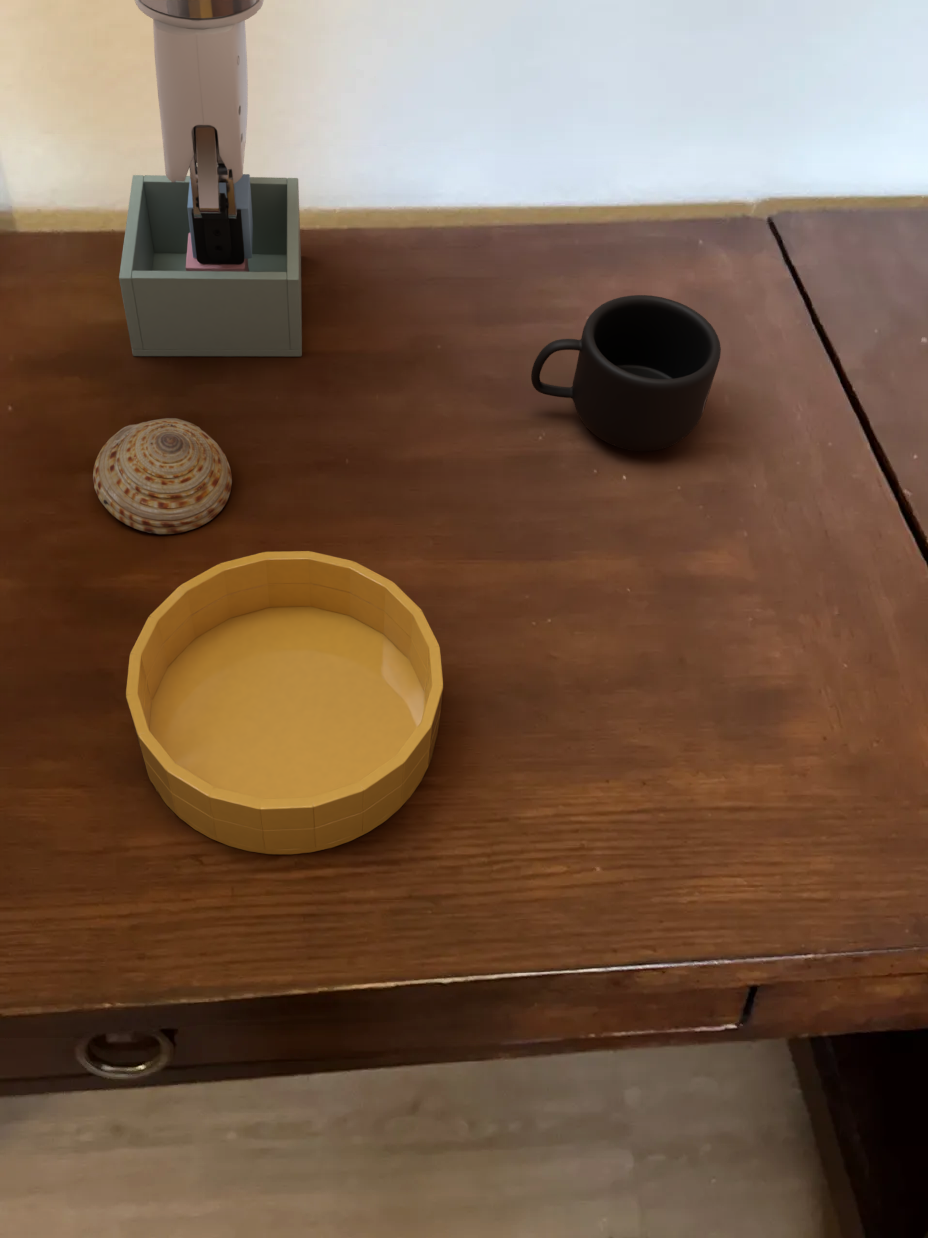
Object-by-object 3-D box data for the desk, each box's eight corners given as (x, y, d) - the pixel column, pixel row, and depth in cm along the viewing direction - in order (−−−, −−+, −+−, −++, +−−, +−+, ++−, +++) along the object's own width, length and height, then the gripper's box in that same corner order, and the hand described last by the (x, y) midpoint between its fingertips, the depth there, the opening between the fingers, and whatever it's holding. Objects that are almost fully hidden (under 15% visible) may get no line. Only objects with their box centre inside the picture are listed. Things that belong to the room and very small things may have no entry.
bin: (132, 356, 84) (118, 277, 79) (145, 253, 91) (132, 174, 86) (301, 356, 85) (298, 279, 80) (301, 254, 92) (298, 177, 87)
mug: (688, 376, 87) (711, 295, 81) (705, 467, 82) (732, 387, 76) (522, 369, 86) (534, 286, 81) (528, 460, 81) (541, 378, 75)
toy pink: (191, 314, 86) (185, 267, 83) (193, 279, 88) (188, 232, 85) (248, 315, 87) (244, 268, 83) (249, 279, 89) (245, 232, 86)
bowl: (128, 862, 61) (113, 815, 57) (150, 608, 71) (139, 553, 67) (447, 848, 63) (454, 801, 59) (426, 602, 73) (431, 548, 69)
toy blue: (193, 257, 84) (187, 207, 80) (195, 223, 86) (190, 172, 83) (251, 258, 84) (248, 208, 81) (252, 224, 86) (249, 173, 83)
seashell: (172, 389, 79) (233, 417, 73) (198, 465, 82) (258, 498, 77) (58, 441, 75) (112, 475, 70) (90, 518, 79) (144, 557, 73)
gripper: (141, -95, 75) (174, 171, 90) (118, 43, 65) (159, 317, 79) (264, -90, 76) (277, 173, 90) (260, 47, 66) (275, 318, 80)
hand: (222, 238), depth 85 cm, fingers closed on toy blue, 3 cm apart
